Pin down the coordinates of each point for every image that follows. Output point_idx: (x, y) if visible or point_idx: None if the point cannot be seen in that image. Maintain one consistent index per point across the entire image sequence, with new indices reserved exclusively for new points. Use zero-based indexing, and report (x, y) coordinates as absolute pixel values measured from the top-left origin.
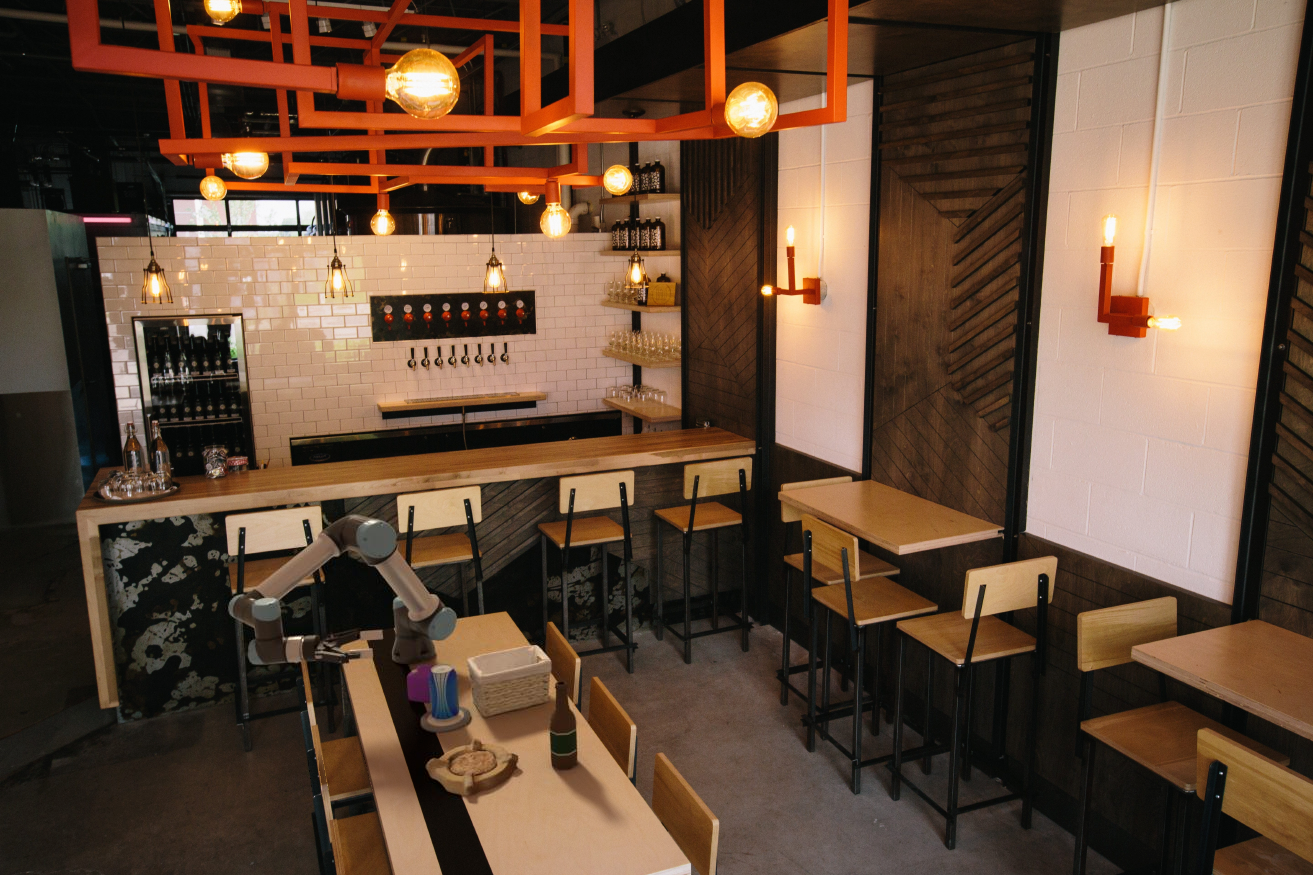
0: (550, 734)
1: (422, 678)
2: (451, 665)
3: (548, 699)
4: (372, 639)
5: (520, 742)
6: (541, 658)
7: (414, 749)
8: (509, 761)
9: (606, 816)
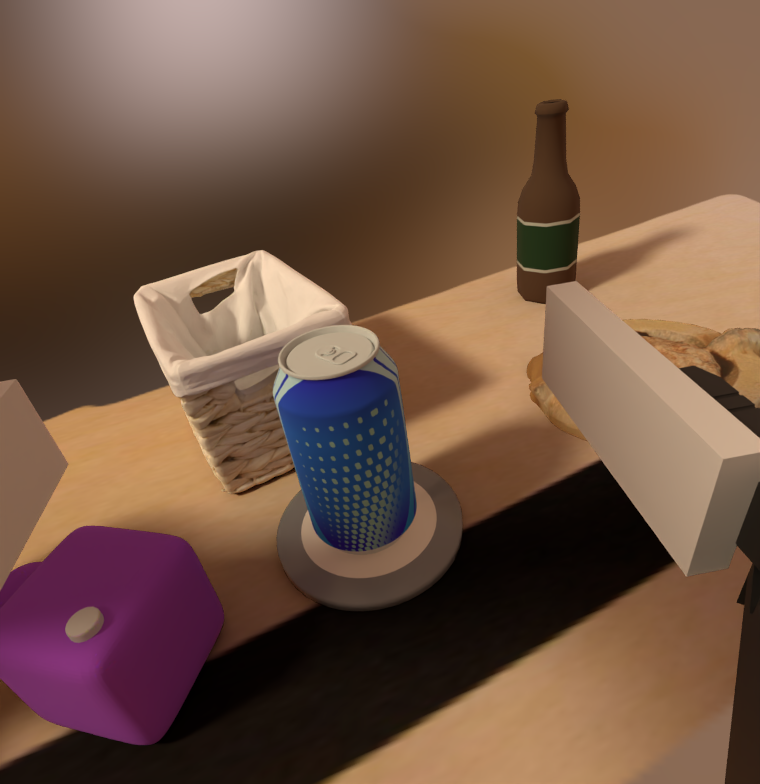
0: (570, 228)
1: (167, 576)
2: (302, 337)
3: None
4: (19, 553)
5: (482, 353)
6: (232, 268)
7: (602, 554)
8: None
9: (678, 237)
